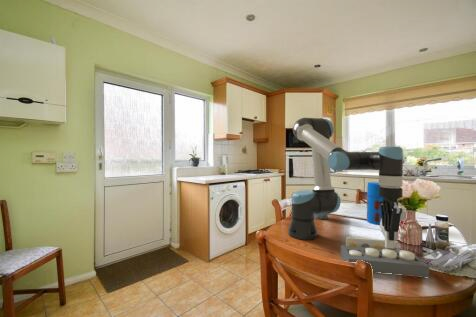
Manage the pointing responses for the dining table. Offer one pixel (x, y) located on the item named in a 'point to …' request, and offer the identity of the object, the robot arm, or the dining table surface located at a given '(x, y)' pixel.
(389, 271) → the board
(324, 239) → the dining table surface
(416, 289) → the dining table surface
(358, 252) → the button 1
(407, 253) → the button
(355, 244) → the card
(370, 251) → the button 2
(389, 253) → the button
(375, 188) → the thermos
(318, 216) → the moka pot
